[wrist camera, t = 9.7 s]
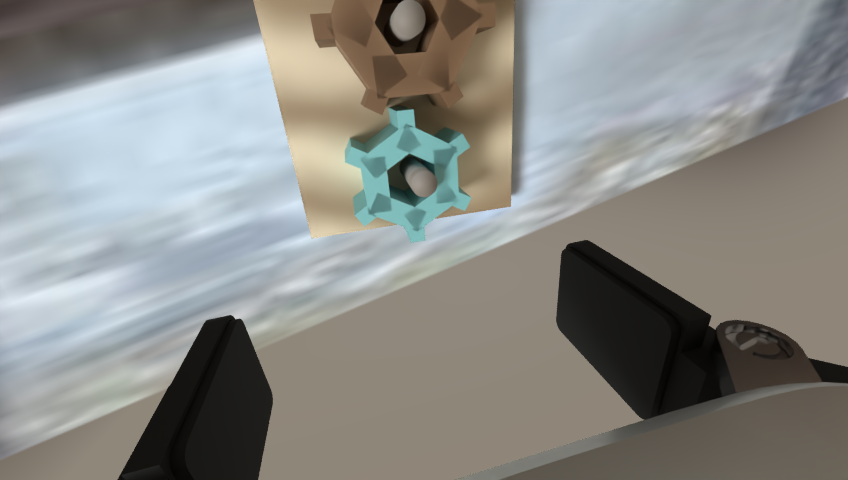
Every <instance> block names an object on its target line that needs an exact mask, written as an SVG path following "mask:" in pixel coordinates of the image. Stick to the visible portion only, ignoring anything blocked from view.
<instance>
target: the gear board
mask: <svg viewBox="0 0 848 480" xmlns="http://www.w3.org/2000/svg"><path fill="white" fill-rule="evenodd" d="M334 1H335V0H254V4H255V8H256V13H257V17H258V21H259V25H260V29H261V33H262V37H263V41H264V45H265V49H266V53H267V58H268V62H269V66H270V70H271V74H272V78H273V82H274V86H275V90H276V94H277V98H278V102H279V107H280V111H281V115H282V119H283V123H284V127H285V131H286V135H287V139H288V143H289V147H290V151H291V156H292V160H293V164H294V168H295V172H296V176H297V180H298V184H299V188H300V192H301V196H302V200H303V205H304V209H305V213H306V217H307V221H308V225H309V229H310V233H311V237H312V238H318V237H324V236H330V235H337V234H343V233H349V232H355V231H361V230H368V229H374V228H380V227H386V226H392V225H398V224H395V223H392V222H389V221H387V220H384V219H381V218H378V217H377V218H375V219H374V220H373V221H371V222H370V223H369V224H367V225H366V226H365V227H364V225H363V224H362V223H361V222H360V221H359V220H358V219H357V218H356V216H355V215H354V205H353V197H354V196H355V195H356V194H358V193H359V192H360V191H362V190H363V189H364V187H363V181H362V175H361V169H360V168H358V167H355V166H353V165H350V164H348V163H345V149H346V147H347V144H348V141H349V139H350V138H352V139H354V140H356V141H359V142H361V143H363V144H364V143H366V142H367V141H368V140H369V139H371V138H372V137H373V136H375V135H376V134H377V133H378V132H380V131H381V130H382V129H384V128H385V127H386V126H388V125H389V124H390V117H389V107H399V106H404V107H407V108H411V109H414V119H415V127H416V128H419V129H421V130H423V131H425V132H427V133H429V134H431V135H433V136H434V135H435V134H436V133H438V132H439V131H440V130H442V129H443V128H444V127H447V128H449V129H452V130H455V131H457V132H460V133H462V134H463V135H464V137H465V139H466V140H467V142H468V144H469V145H470V147H469V148H468V149H467V150H466V151H464V152H463V153H462V154H460V155H459V156H458V157H457V164H458V186H459V187H460V188H461V189H462V190H463V191H464V192H466V193H467V194H468V195H469V196H470V197H472V198H471V200H470V202H469V204H468V206H467V208H466V210H465V211H464V210H461V209H459V208H456V207H454V206H451V207H450V208H448V209H447V210H446V211H444V212H443V213H442V214H440V215H439V216H437V217H436V218H442V217H448V216H455V215H461V214H467V213H473V212H479V211H486V210H492V209H498V208H504V207H510V206H511V172H512V119H513V67H514V14H515V0H476V2H477V4H482V3H495V27H493V28H490V29H488V30H485V31H483V32H481V33H478V34H476V35H475V36H474V38H473V40H472V42H471V45H470V47H469V49H468V52H467V54H466V56H465V58H464V61H463V63H462V65H461V67H460V70H459V72H458V74H457V77H456V79H455V82H456V84H457V85H458V87H459V89H460V91H461V92H462V94H463V96H464V97H462V98H461V99H460V100H458V101H457V102H456V103H455V104H453V105H452V106H451V107H449V108H445V107H440V106H435V105H432V103H431V102H430V100H429V99H428V97H427V95H426V94H422V95H412V96H402V97H393V98H389V100H388V102H387V105H386V107H385V110H384V112H383V115H380V114H378V113H376V112H374V111H372V110H370V109H367V108H365V107H364V106H362V105H361V101H362V99H363V96H364V93H365V90H366V88H365V86H364V85H363V84H362V82H361V81H360V79H359V78H358V77H357V75H356V74H355V72H354V71H353V70H352V68H351V67H350V65H349V64H348V63H347V61H346V60H345V58H344V57H343V55H342V54H341V53H340V51H339V50H338V48H337V47H325V48H319V46H318V45H317V43H316V41H315V39H314V33H313V28H312V23H311V18H310V14H320V13H331V10H332V7H333V4H334ZM425 20H426V17H425V12H424V9H423V8H422V6H421V5H420V4H419V3H418V2H417V1H415V0H404V1H402V2H400V3H390V4H381V6H380V9H379V12H378V15H377V17H376V20H375V24H376V26H377V28H378V29H379V31H380V32H381V34H382V35H383V37H384V38H385V40H386V42H387V43H388V45H389V46H390V48H391V49H392V51H393V53H394V54H407V53H415V51H416V49H417V46H418V43H419V41H420V38H421V36H422V33H423V31H424V29H423V28H424V25H425ZM387 176H388V184H389V185H392V186H394V187H397V188H399V189H402V190H404V191H405V190H407V189H408V188H409V187H411V189H412V190H413V191H414V193H415V194H416V195H418V196H420V197H428V196H430V195H432V194H433V193H434V192H435V191H436V189H437V179H436V177H435V175H434V174H433V173H431V172H430V171H429V170H428V169H427V168H426V167H425V166H424V165H423V164H422V159H421V158H419V157H417V156H414V155H412V154H410V153H409V154H408V155H407V156H405V157H404V158H403V159H401V160H400V161H399V162H397V163H396V164H395V165H393V166H392V167H391V168H390V169H388V170H387ZM436 218H435V219H436Z"/></svg>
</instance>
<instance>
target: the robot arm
mask: <svg viewBox="0 0 848 480" xmlns="http://www.w3.org/2000/svg"><path fill="white" fill-rule="evenodd" d="M710 319H711V315H710V314H708V313H706V312H705V311H703V310H701V309H700V308H698V307H696V306H695V305H693V304H692V303H690V302H688V301H687V300H685V299H684V298H682V297H680V296H679V295H677V294H675V293H674V292H672V291H670V290H669V289H667V288H666V287H664V286H662V285H661V284H659V283H657V282H656V281H654V280H652V279H651V278H649V277H648V276H646V275H644V274H642V273H641V272H639V271H638V270H636V269H634V268H633V267H631V266H629V265H628V264H626V263H625V262H623V261H621V260H620V259H618V258H616V257H615V256H613V255H611V254H610V253H608V252H606V251H605V250H603V249H602V248H600V247H599V246H597V245H595V244H593V243H592V242H590V241H588V240H584V241H579V242H574V243H570V244H568V245H567V246H566V249H564V250H563V251H562V254H561V265H560V278H559V291H558V304H557V317H556V322H557V325H558V328H559V330H560V331H561V332H562V333H563V334H564V335H565V336H566V338H567V339H569V341H570V342H571V343H572V344H573V345H574V346H575V347H576V348H577V349H578V351H579V352H580V353H581V354H582V355H583V356H584V357H585V358H586V359H587V360H588V361H589V363H590V364H591V365H592V366H593V367H594V368H595V369H596V370H597V371H598V372H599V373H600V375H601V376H602V377H603V378H604V379H605V380H606V381H607V382H608V383H609V384H610V386H611V387H612V388H613V389H614V390H615V391H616V392H617V393H618V394H619V395H620V396H621V397H622V399H623V400H624V401H625V402H626V403H627V404H628V405H629V406H630V407H631V408H632V409H633V410H634V411H635V413H636V414H637V415H638V416H639V417H640V418H642V419H644V420H643V421H640V422H637V423H634V424H630V425H627V426H624V427H621V428H618V429H614V430H612V431H608V432H605V433H601V434H598V435H595V436H592V437H589V438H585V439H582V440H579V441H576V442H573V443H570V444H566V445H563V446H560V447H557V448H554V449H551V450H548V451H544V452H541V453H538V454H535V455H532V456H528V457H526V458H523V459H519V460H516V461H513V462H510V463H506V464H503V465H500V466H497V467H494V468H491V469H488V470H484V471H481V472H478V473H475V474H472V475H469V476H466V477H463V478H459V479H456V480H848V367H845V366H841V365H836V364H832V363H828V362H823V361H819V360H814V359H810V358H808V357H807V356H806V354H805V353H804V351H803V349H802V348H801V347H800V346H799V345H798V343H796V341H794V340H793V339H791V338H790V337H789V336H787V335H786V334H783V333H782V332H779V331H778V330H776V329H773V328H771V327H768V326H765V325H762V324H759V323H754V322H750V321H741V320H731V321H725V322H723V323H720V324H719V325H718V326H717V328H716V330H715V329H713V328H712V327H710V326H709V322H710ZM272 404H273V398H272V392H271V389H270V386H269V384H268V381H267V379H266V377H265V374H264V372H263V369H262V367H261V364H260V362H259V360H258V357H257V354H256V352H255V350H254V347H253V345H252V342H251V340H250V337H249V335H248V332H247V330H246V327H245V325H244V323H243V321H242V320H241V319H236V320H235V318H234V317H233V316H231V315H229V316H224V317H219V318H214V319H210V320H207V321H206V322H205V323H204V325H203V326H202V328H201V330H200V332H199V334H198V336H197V337H196V339H195V341H194V343H193V345H192V347H191V348H190V350H189V352H188V354H187V356H186V358H185V359H184V361H183V363H182V365H181V367H180V369H179V370H178V372H177V374H176V376H175V378H174V379H173V381H172V383H171V385H170V386H169V387H168V389H167V391H166V393H165V394H164V396H163V398H162V400H161V402H160V403H159V405H158V407H157V409H156V411H155V413H154V414H153V416H152V418H151V420H150V422H149V423H148V425H147V427H146V429H145V431H144V433H143V434H142V436H141V438H140V440H139V442H138V444H137V445H136V447H135V449H134V451H133V453H132V455H131V456H130V458H129V460H128V462H127V464H126V466H125V468H124V469H123V471H122V473H121V474H120V476H119V479H118V480H258V477H259V471H260V467H261V462H262V456H263V451H264V446H265V440H266V436H267V431H268V425H269V420H270V415H271V410H272Z"/></svg>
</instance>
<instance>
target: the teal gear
mask: <svg viewBox="0 0 848 480" xmlns="http://www.w3.org/2000/svg"><path fill="white" fill-rule="evenodd" d="M389 117H390V124H389V125H388V126H386V127H385V128H384V129H382V130H381V131H380V132H378V133H377V134H376V135H375V136H373V137H372V138H371V139H369V140H368V141H367V142H366V143H364V144H363V143H361V142H359V141H356V140H354V139H352V138H350V139H349V141H348V144H347V147H346V149H345V163H348V164H350V165H353V166H355V167H358V168H360V169H361V175H362V181H363V187H364V189H363V190H362V191H360V192H359V193H358V194H356V195H355V196H354V197H353V205H354V215H355V216H356V218H357V219H358V220H359V221H360V222H361V223H362V224H363V225H364V227H365V226H366V225H367V224H369V223H370V222H371V221H373V220H374V219H375V218H377V217H378V218H381V219H384V220H387V221H389V222H392V223H395V224H398V225H400V226H403V227H404V228H405V230H406V233H407V235H408V237H409V239H410V242H411V243H412V242H418V241H424V240H425V231H424V226H425V225H427V224H428V223H429V222H431V221H432V220H433V219H435V218H436V217H437V216H439V215H440V214H442V213H443V212H444V211H446V210H447V209H448V208H450V207H451V206H454V207H456V208H459V209H461V210H464V211H465V210H466V208H467V206H468V204H469V202H470V200H471V198H472V197H470V196H469V195H468V194H467V193H466V192H464V191H463V190H462V189H461V188H460V187H459V186H458V164H457V157H458V156H459V155H460V154H462V153H463V152H464V151H466V150H467V149H468V148H469V147H470V145H469V144H468V142H467V140H466V139H465V137H464V135H463V134H462V133H460V132H457V131H455V130H452V129H449V128H447V127H444V128H443V129H442V130H440V131H439V132H438V133H436V134H435V135H434V136H433V135H431V134H429V133H427V132H425V131H423V130H421V129H419V128H416V127H415V119H414V109H411V108H407V107H404V106H399V107H389ZM409 153H410V154H412V155H414V156H417V157H419V158H421V159H422V164H423V165H424V166H425V167H426V168H427V169H428V170H429V171H430V172H431V173H433V174H434V175H435V177H436V179H437V189H436V191H435V192H434V193H433V194H432V195H430V196H428V197H420V196H418V195H416V194H415V193H414V191H413V190H412V189H411V187H409V188H408V189H407V190H405V191H404V190H402V189H399V188H397V187H394V186H392V185H389V184H388V176H387V170H388V169H390V168H391V167H392V166H393V165H395V164H396V163H397V162H399V161H400V160H401V159H403V158H404V157H405V156H407V155H408V154H409Z"/></svg>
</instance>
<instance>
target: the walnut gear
mask: <svg viewBox="0 0 848 480" xmlns="http://www.w3.org/2000/svg"><path fill="white" fill-rule="evenodd" d="M402 1H404V0H335V1H334V4H333V7H332V10H331V13H320V14H310V18H311V23H312V28H313V33H314V39H315V41H316V43H317V45H318V46H319V48H325V47H337V48H338V50H339V51H340V53H341V54H342V55H343V57H344V58H345V60H346V61H347V63H348V64H349V65H350V67H351V68H352V70H353V71H354V72H355V74H356V75H357V77H358V78H359V79H360V81H361V82H362V84H363V85H364V86H365V88H366V90H365V93H364V96H363V99H362V101H361V105H362V106H364V107H365V108H367V109H370V110H372V111H374V112H376V113H378V114H380V115H383V112H384V110H385V107H386V105H387V102H388V100H389V98H393V97H402V96H412V95H422V94H426V95H427V97H428V99H429V100H430V102H431V103H432V105H435V106H440V107H445V108H449V107H451V106H452V105H453V104H455V103H456V102H457V101H458V100H460V99H461V98H462V97H464V96H463V94H462V92H461V91H460V89H459V87H458V85H457V84H456V82H455V79H456V77H457V74H458V72H459V70H460V67H461V65H462V63H463V61H464V58H465V56H466V54H467V52H468V49H469V47H470V45H471V42H472V40H473V38H474V36H475V35H476V34H478V33H481V32H483V31H485V30H488V29H490V28H493V27H495V3H482V4H477V2H476V0H415V1H417V2H418V3H419V4H420V5H421V6H422V8H423V9H424V12H425V17H426V20H425V25H424V28H423V29H424V31H423V33H422V36H421V38H420V41H419V43H418V46H417V49H416V51H415V53H407V54H394V53H393V51H392V49H391V48H390V46H389V45H388V43H387V42H386V40H385V38H384V37H383V35H382V34H381V32H380V31H379V29H378V28H377V26H376V24H375V20H376V17H377V15H378V12H379V9H380V6H381V4H390V3H400V2H402Z"/></svg>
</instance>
